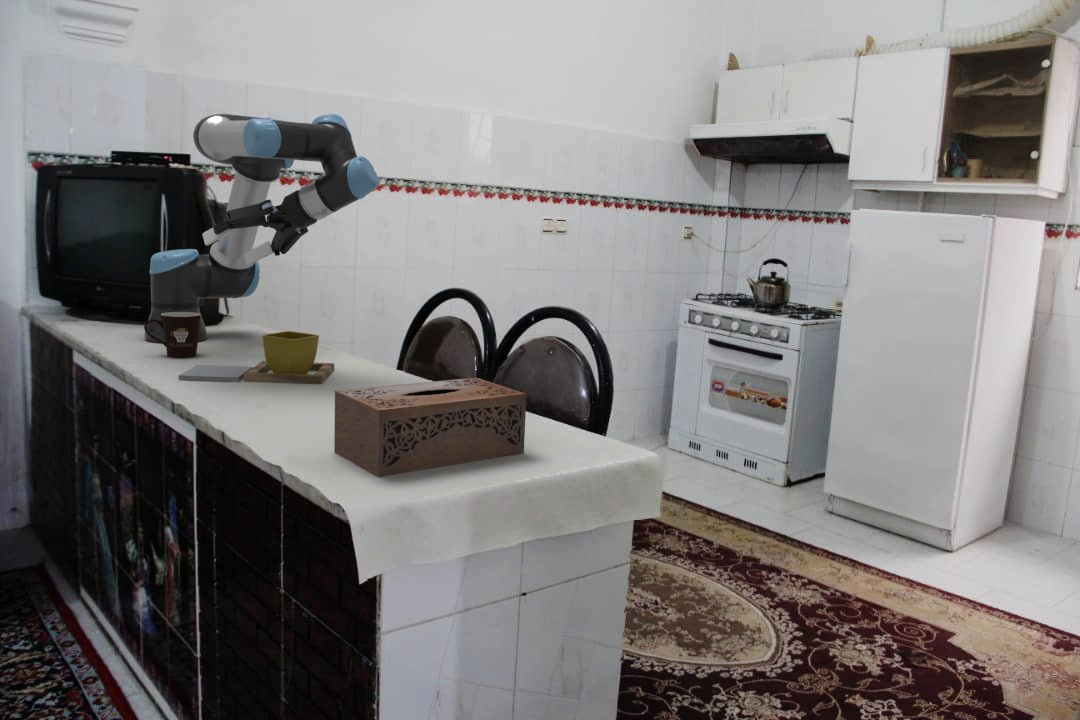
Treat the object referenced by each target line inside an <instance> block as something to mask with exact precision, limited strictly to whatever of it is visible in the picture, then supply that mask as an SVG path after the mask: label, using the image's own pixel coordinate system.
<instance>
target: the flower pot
mask: <svg viewBox="0 0 1080 720" xmlns="http://www.w3.org/2000/svg"><path fill="white" fill-rule="evenodd" d="M261 336H262V345H263V350H264V351H263V352H264V357H265V361H267V364H268V366H269V368H270V369H269V370H270V371H271V373H280V374H309V372H310V371H309V370H310V369H311V367H312V365H313V363H315V361H316V357H317V352H318V346H319V345H318V344H319V337H320V335H319V334H314V333H313V334H312V333H306V332H300V331H293V330H292V331H291V330H286V331H278V332H271V333H265V334H262V335H261Z"/></svg>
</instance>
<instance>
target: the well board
mask: <svg viewBox="0 0 1080 720" xmlns="http://www.w3.org/2000/svg"><path fill="white" fill-rule="evenodd" d="M252 367H253V368H252V369H251V370H249V371H248V372H246V373H245V374H244V378H243V382H256V383H259V382H260V383H283V384H284V383H287V384H313V385H314V384H317V385H320V384H321V385H322V384H323V382H325V380H327V378H328V377H329V376H330V375H331V374H332V373H333V372H334V371H335V363H334V362H333V363H332V362H314V363H313V365H312V367H311V369H310V370H309V372H315V373H314V374H310V373H307V374H280V373H273V372H268V371H270V370H271V369H270V368H269V366H268V364H267V361H266V360H262V361H260V362H259V363H258V364H256V365H255V366H252Z"/></svg>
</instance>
